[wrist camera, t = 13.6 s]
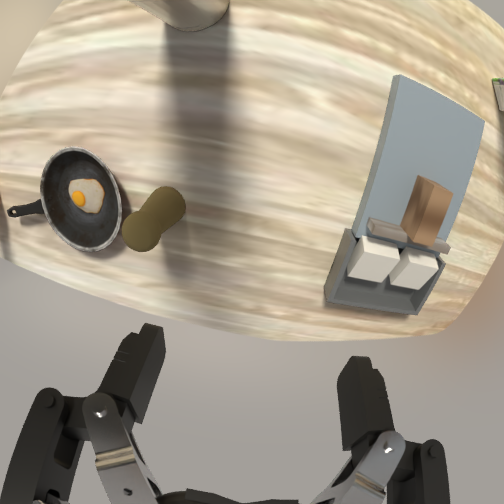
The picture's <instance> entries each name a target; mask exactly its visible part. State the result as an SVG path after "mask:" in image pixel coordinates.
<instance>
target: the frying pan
mask: <svg viewBox="0 0 504 504" xmlns="http://www.w3.org/2000/svg"><path fill="white" fill-rule="evenodd" d="M40 193H41V199H39V200H37V201H36V202H33V203H30V204H27V205H20V206H13V207H11V208H10V209H8V210H7V213H8V216H10V217H19V216H24V215H29V214H35V213H36V214H45V215H46V217H47V219H48V221H49V223H50V225H51V227H52V228H53V230H54V231H55V232H56V234H57V235H58V236H59V237H60V238H61V239H62V240H63V241H65V242H66V243H67V244H68V245H70V246H72V247H74V248H75V249H78V250H81V251H86V252H95V251H99V250H102V249H104V248H106V247H107V246H108V245H110V244H111V243H112V241H113V240H114V239H115V238H116V235H117V233H118V231H119V229H120V224H121V220H122V205H121V197H120V193H119V190H118V186H117V184H116V181H115V179H114V177H113V175H112V173H111V172H110V170H109V169H108V167H107V166H106V164H105V163H104V162H103V161H102V160H101V159H100V158H99V157H98V156H96V155H95V154H94V153H92V152H91V151H89V150H87V149H84V148H82V147H75V146H72V147H65V148H63V149H61V150H58V151H57V152H56V153H55V154H53V155H52V156H51V158H50V159H49V160H48V162H47V163H46V166H45V168H44V170H43V173H42V177H41V185H40ZM12 210H15V211H16V213H14V214H13V212H12Z"/></svg>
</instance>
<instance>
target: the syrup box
mask: <svg viewBox="0 0 504 504" xmlns="http://www.w3.org/2000/svg"><path fill="white" fill-rule="evenodd" d="M492 81H493V85H494V89H495V93H496V97H497V101H498V105H499V110H500V111H504V78H493V79H492Z"/></svg>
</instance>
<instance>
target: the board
mask: <svg viewBox="0 0 504 504" xmlns="http://www.w3.org/2000/svg"><path fill="white" fill-rule="evenodd" d="M484 123H485V121H484V120H482V119H481V118H479V117H478V116H476V115H475V114H473V113H472V112H470V111H469V110H467V109H465V108H464V107H462V106H461V105H459V104H457V103H456V102H454V101H452V100H450V99H449V98H447V97H445V96H443V95H441V94H440V93H438V92H436V91H434V90H432V89H430V88H428V87H426V86H424V85H422V84H420V83H418V82H416V81H414V80H412V79H409V78H407V77H405V76H403V75H395V76H393V80H392V85H391V90H390V95H389V100H388V104H387V109H386V113H385V117H384V121H383V126H382V130H381V134H380V137H379V141H378V145H377V149H376V152H375V156H374V160H373V163H372V167H371V170H370V174H369V177H368V180H367V184H366V187H365V190H364V193H363V196H362V200H361V203H360V206H359V209H358V212H357V215H356V218H355V221H354V224H353V226H352V229H351V230H352V232H353V234H354V236H355V237H357V238H361V236H362V235H363V236H367V237H371V238H375V239H379V240H383V241H387V242H391V243H395V244H397V247H398V248H402V249H405V247H410V248H414V249H418V250H421V251H425V252H429V253H432V254H434V255H435V257H436V258H438V257H439V255H440V253H441V252H437V251H434V250H430V249H427V248H423V247H420V246H416V245H412V244H408V243H405V242H401V241H397V240H393V239H390V238H386V237H382V236H378V235H374V234H372V233H371V231H370V230H369V228H368V227H367V225H366V224H367V221H368V219H369V217H371V218H374V219H378V220H382V221H385V222H389V223H392V224H396V225H399V226H400V224H401V221H402V218H403V216H404V213H405V210H406V208H407V205H408V202H409V199H410V196H411V193H412V191H413V188H414V185H415V182H416V178H417V175H420V176H422V177H425V178H427V179H430V180H432V181H435V182H437V183H438V184H440V185H441V186H443V187H445V188H446V189H448V190H449V191H451V192H452V193H454V194H453V197H452V199H451V202H450V205H449V208H448V210H447V213H446V215H445V218H444V220H443V223H442V225H441V228H440V230H439V232H438V235H437V237H439V238H442V239H443V240H444V241H445V242H446V240H447V237H448V235H449V233H450V231H451V228H452V226H453V223H454V221H455V218H456V216H457V213H458V211H459V208H460V206H461V203H462V200H463V197H464V195H465V192H466V189H467V186H468V183H469V180H470V177H471V174H472V170H473V167H474V164H475V160H476V157H477V153H478V149H479V145H480V141H481V137H482V133H483V128H484Z"/></svg>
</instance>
